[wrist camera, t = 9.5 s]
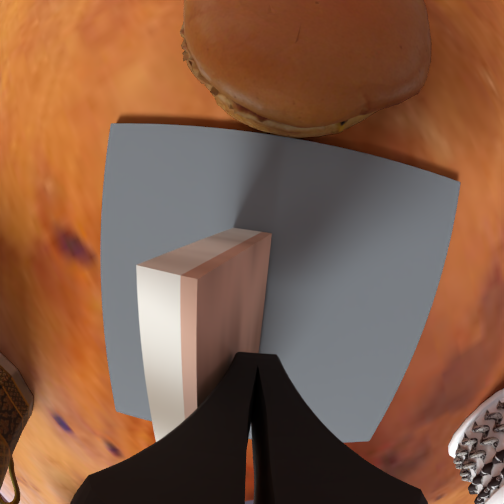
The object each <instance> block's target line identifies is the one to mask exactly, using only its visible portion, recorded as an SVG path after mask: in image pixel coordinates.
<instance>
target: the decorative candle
mask: <svg viewBox="0 0 504 504" xmlns="http://www.w3.org/2000/svg"><path fill="white" fill-rule="evenodd" d="M448 451H449V455H450V456H452V457H454V458H455V459H454V461H453V462H454V463H455V464H456V468H457V469H461V471H460V476H462V480H463V481H468V482H472V483H471V484H470V485H469V487H468V490H469V493H470V494H478V496H477V497H476V499H475V501H474V503H475V504H504V389H502V390H500V391H498V392H496V393H495V394H493V395H492V396H491V397H490V398H488V399H487V400H486V401H484V402H483V403H482V404H481V405H480V406H479V407H478V408H477V409H476V410H475V411H474V412H473V413H471V414H470V415H469V416H468V417H467V418H466V419H465V421H464V422H463V423H462V424H461V426H460V427H459V428H458V429H457V431H456V432H455V433H454V435H453V437H452V439H451V441H450V443H449V445H448Z"/></svg>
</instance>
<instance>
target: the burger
mask: <svg viewBox="0 0 504 504" xmlns="http://www.w3.org/2000/svg"><path fill="white" fill-rule="evenodd" d="M180 34H181V37H183V38H184V40H183V43H182V45H181V46H182V49H184V50H185V51H184V52H183V55H184V56H183V61H185V60H186V61H187V64H188V67H189V68H190V70H191V72H192V73H193V74H194V76H195V77H196V78H197V79H198V80H199V81H200V82H201V83H202V84H205V86H206V87H207V88H208V89H209V90H210V92H211V93H212V95H213V96H214V97H215V100H216V102H217V104H218V105H219V106H220V107H221V108H222V109H223V110H224V111H225V112H226V113H227V114H229V115H230V116H232V117H233V118H235V119H236V120H238V121H240V122H242V123H244V124H246V125H248V126H250V127H253V128H255V129H258V130H260V131H263V132H269V133H273V134H276V135H282V136H286V137H295V138H302V137H317V136H323V135H328V134H335V133H340V132H342V131H343V130H345V129H347V128H349V127H351V126H353V125H355V124H357V123H359V122H361V121H363V120H364V119H366V118H367V117H369V116H370V115H372V114H373V113H375V112H376V111H378V110H381V109H384V108H387V107H390V106H394V105H397V104H399V103H401V102H403V101H405V100H407V99H409V98H410V97H412V96H414V95H416V94H418V93H419V91H420V90H421V88H422V87H423V86H424V83H425V81H426V78H427V75H428V71H429V66H430V62H431V36H430V29H429V23H428V16H427V10H426V5H425V3H424V1H423V0H185V1H184V22H183V26H182V28H181V31H180Z"/></svg>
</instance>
